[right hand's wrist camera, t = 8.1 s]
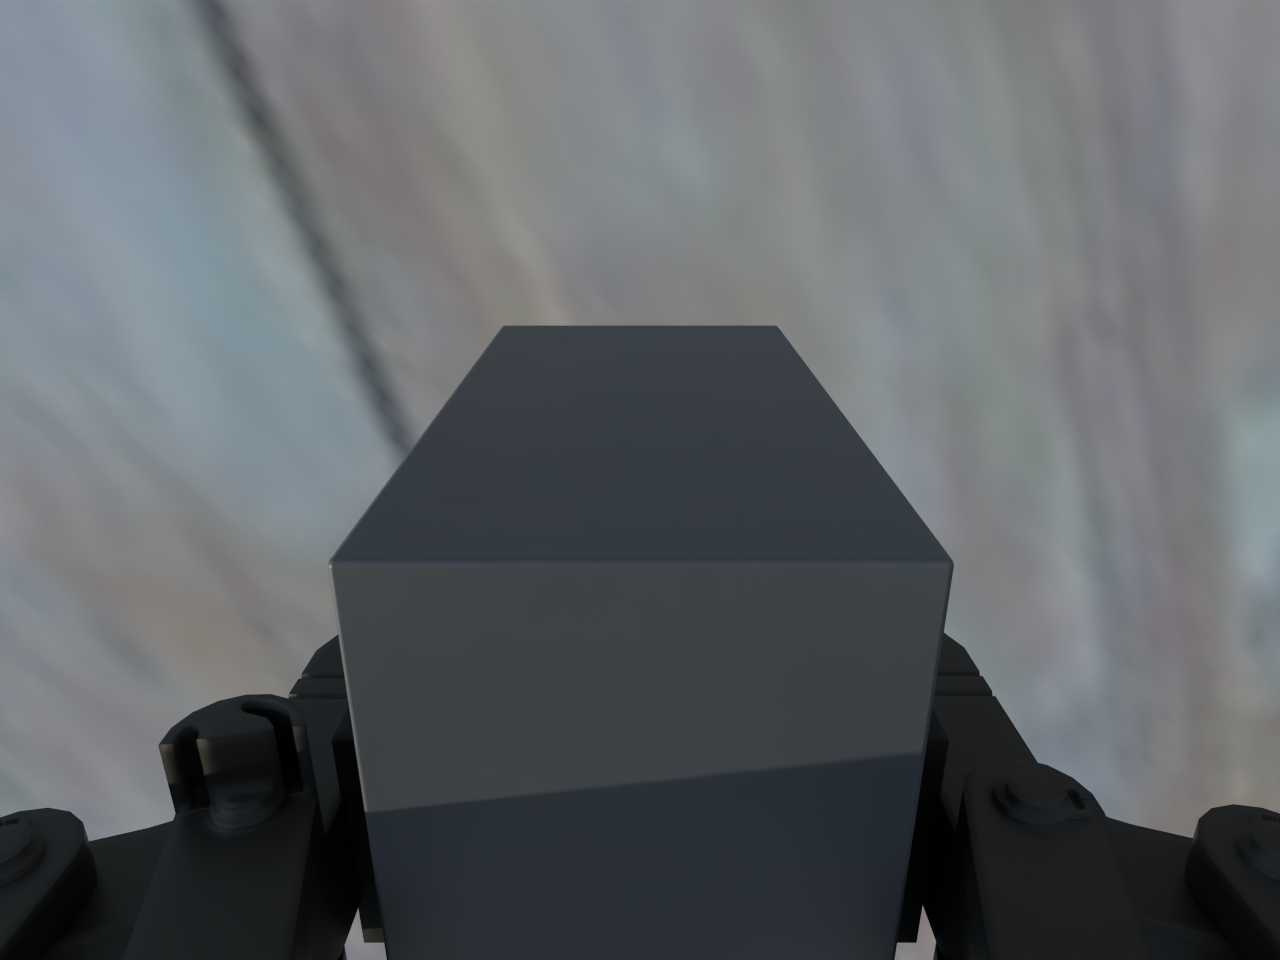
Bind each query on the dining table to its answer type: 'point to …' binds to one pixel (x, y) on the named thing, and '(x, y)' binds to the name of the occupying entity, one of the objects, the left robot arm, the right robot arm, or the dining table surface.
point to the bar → (640, 659)
